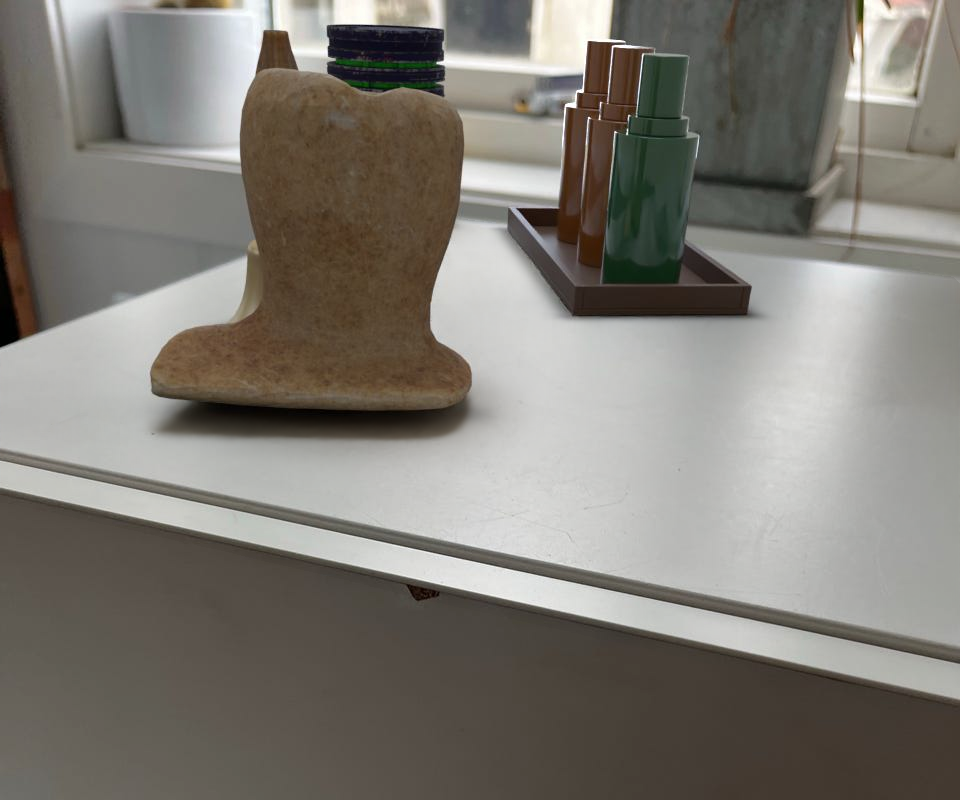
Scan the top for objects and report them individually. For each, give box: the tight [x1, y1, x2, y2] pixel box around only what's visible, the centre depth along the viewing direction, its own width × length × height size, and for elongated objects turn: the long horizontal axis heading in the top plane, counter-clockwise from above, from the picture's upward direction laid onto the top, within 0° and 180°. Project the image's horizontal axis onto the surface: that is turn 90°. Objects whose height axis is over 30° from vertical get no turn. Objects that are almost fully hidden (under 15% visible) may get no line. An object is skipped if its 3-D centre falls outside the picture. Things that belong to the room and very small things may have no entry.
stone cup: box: [149, 68, 473, 412], centre depth 49 cm, size 15×12×15 cm
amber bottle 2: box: [576, 45, 656, 268], centre depth 75 cm, size 6×6×14 cm
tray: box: [506, 206, 753, 316], centre depth 79 cm, size 12×27×2 cm, turn 8°
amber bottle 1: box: [556, 38, 626, 245], centre depth 82 cm, size 6×6×14 cm
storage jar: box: [326, 23, 446, 98], centre depth 87 cm, size 10×10×15 cm
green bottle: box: [600, 52, 700, 284], centre depth 68 cm, size 6×6×14 cm
